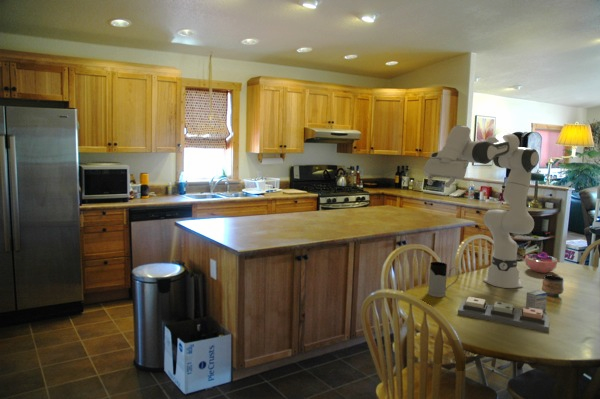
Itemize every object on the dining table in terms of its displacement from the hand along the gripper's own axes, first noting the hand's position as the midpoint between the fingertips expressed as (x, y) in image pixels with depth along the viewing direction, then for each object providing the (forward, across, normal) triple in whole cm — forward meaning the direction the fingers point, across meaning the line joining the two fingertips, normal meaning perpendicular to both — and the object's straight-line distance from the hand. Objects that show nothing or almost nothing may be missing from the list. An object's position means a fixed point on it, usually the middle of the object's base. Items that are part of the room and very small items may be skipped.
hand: (437, 185), depth 197 cm
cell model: (+1, 0, -112) cm, 112 cm away
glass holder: (+41, +4, -39) cm, 56 cm away
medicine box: (+32, -32, -54) cm, 70 cm away
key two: (+38, -28, -35) cm, 59 cm away
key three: (+36, -38, -40) cm, 66 cm away
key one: (+41, -18, -31) cm, 54 cm away
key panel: (+41, -28, -37) cm, 62 cm away
